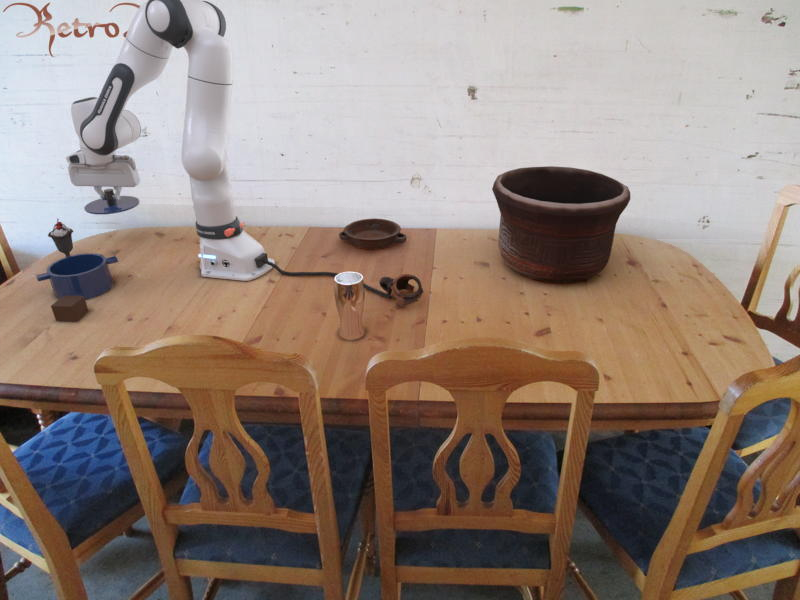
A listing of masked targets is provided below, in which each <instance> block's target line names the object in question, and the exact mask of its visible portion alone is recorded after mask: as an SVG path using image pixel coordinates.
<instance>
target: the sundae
mask: <svg viewBox="0 0 800 600" xmlns="http://www.w3.org/2000/svg"><path fill="white" fill-rule="evenodd" d="M56 219H57V220H56V223H55V224H54V225H53V229H52V230H50V231H49V232H48V234H47V237H48V238H51V240H52V241H53V244H54V245H55V247H56V249H57V251H58V252H60V253H62V254H64V255H65V257H68V256H71V252H72V251H73V249H74V243H73V236H72V234H73V233H74V230H73V229H72V228H70V227H67V226H66V224H65V223H62V221H60V219H59V218H56Z"/></svg>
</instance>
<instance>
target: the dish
mask: <svg viewBox="0 0 800 600" xmlns="http://www.w3.org/2000/svg"><path fill="white" fill-rule="evenodd" d="M401 231H402V227H401V226H400V225H399V224H398V223H397V222H395V221H393V220H389V219H384V218H375V217H373V218H363V219H359V220H355V221H353V222H350V223H349V224H347V225H346V226H345V227H344V228H343V230H342V231H340V232H339V233H338V238H339V239H340V240H341V241H345V242H346V241H347V242H349V243H351V245H352V246H354V247H356V248H360V249H365V250H379V249H385V248H389V247H391V246H393V245H394V244H399V243H400V244H401V243H406V242H407V234H405V233H403V232H401Z"/></svg>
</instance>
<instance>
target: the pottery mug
mask: <svg viewBox="0 0 800 600" xmlns="http://www.w3.org/2000/svg"><path fill="white" fill-rule="evenodd" d="M411 280H413V281H415V282H416V284H417V287H418V288H417V290H416V291H415V292H414V289H415V286H414V285H413V284H410V283H409V282H410V281H411ZM378 283H379V286H380V288H381V289H383V290H384V291H385V293H387V294H388V295H391V294H393V296H394V297H395V298H396V299H397V300H396V303H395V305H396V307H397V308H400V309H401V308H403V307H404V306H405V307H406V306H409V305H412V304H414V303H416V302H418V301H419V299H421V297H422V296H423V293H424V289H423V286H422V282H421V280H420V278H418V277H417V276H416V275H414V274H409V273H403V274H402V273H401V274H400V275H398V276H396V277H395V278H393V277H389V276H382V277H381V278H380V280H379V282H378ZM401 291H407V292H410V293H411V294H406V293H404V294H403V296H402V295H401Z"/></svg>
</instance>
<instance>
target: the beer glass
mask: <svg viewBox="0 0 800 600" xmlns="http://www.w3.org/2000/svg"><path fill="white" fill-rule="evenodd" d="M333 281H334V283H333V284H334V285H333V292H334V303H335V306H336V310H337V313H338V317H339V331H338V333H339V334H338V335H339V336H340V337H341V338H342V339H344V340H347V341H354V340H355V341H356V340H359V339H361V338H363V336H364V335H365V332H366V331H365V327H364V323H363V314H364V307H365V299H366V298H365V297H366V295H365V294H366V293H365V292H366V291H365V288H364V284H365V282H364V276H363V275H362V274H361V273H359V272H356V271H344V272H340V273H339V274H338V275H336V276H334V278H333Z"/></svg>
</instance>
